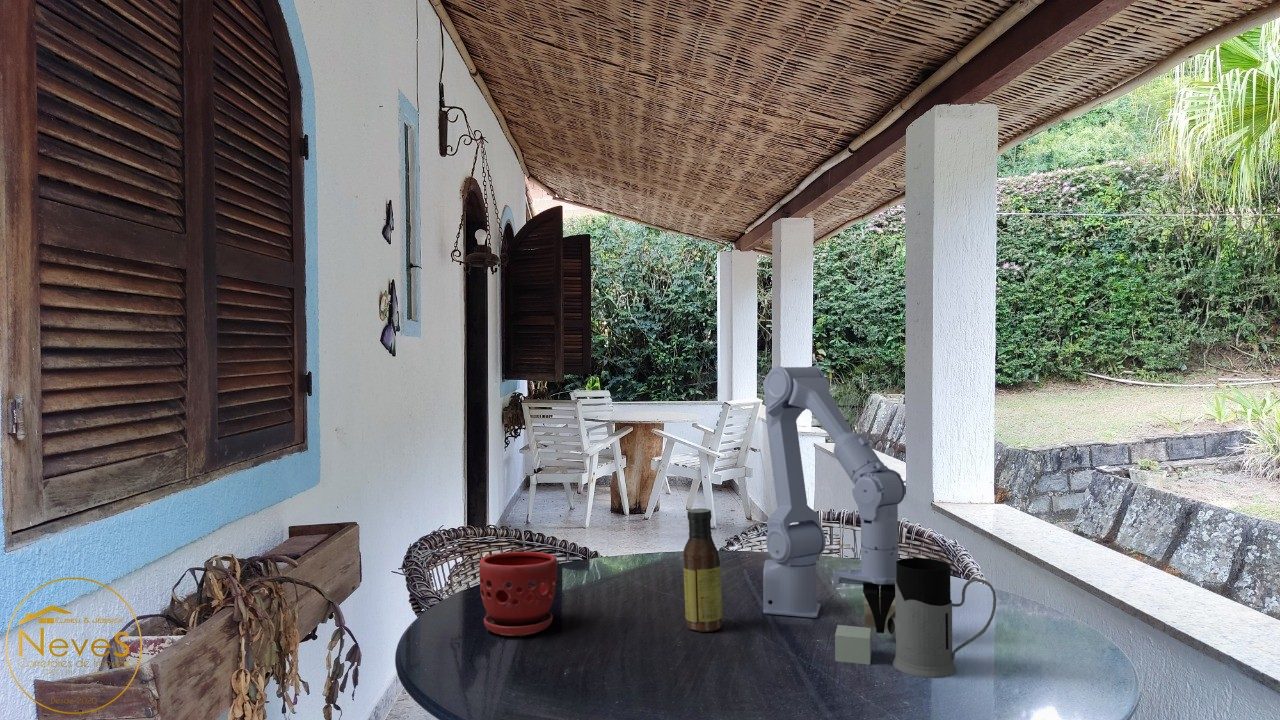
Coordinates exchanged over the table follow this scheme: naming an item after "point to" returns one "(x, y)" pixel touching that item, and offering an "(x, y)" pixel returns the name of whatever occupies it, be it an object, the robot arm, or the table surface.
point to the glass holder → (927, 618)
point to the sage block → (853, 644)
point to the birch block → (869, 616)
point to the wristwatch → (892, 625)
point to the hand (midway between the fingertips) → (880, 631)
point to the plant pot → (518, 591)
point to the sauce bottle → (702, 575)
